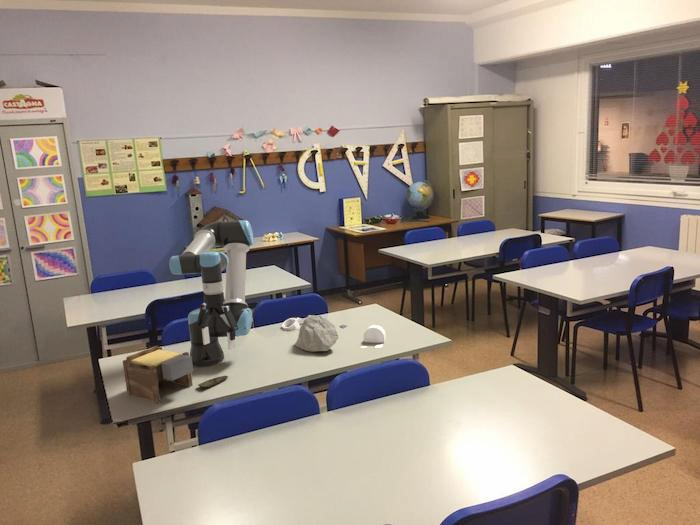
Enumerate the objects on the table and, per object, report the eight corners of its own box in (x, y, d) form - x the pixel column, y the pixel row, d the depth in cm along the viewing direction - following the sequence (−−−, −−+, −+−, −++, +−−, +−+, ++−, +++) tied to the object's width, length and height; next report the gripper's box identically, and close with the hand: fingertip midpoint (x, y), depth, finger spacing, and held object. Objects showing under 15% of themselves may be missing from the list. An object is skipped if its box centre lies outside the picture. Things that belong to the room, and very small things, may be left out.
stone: (204, 391, 218) (203, 385, 218) (196, 389, 221) (195, 383, 221) (230, 379, 228) (229, 374, 228) (222, 377, 232) (221, 372, 231)
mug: (296, 344, 285) (288, 329, 281) (286, 341, 291) (278, 326, 287) (312, 329, 292) (305, 314, 287) (302, 326, 298) (294, 312, 294)
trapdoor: (160, 362, 229) (158, 347, 228) (196, 370, 218) (194, 355, 217) (133, 373, 218) (130, 358, 217) (169, 382, 207) (167, 366, 206)
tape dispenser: (389, 342, 269) (388, 320, 267) (381, 356, 252) (379, 332, 250) (370, 342, 272) (368, 320, 270) (360, 355, 255) (358, 332, 253)
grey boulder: (344, 349, 256) (342, 317, 253) (326, 359, 246) (323, 325, 243) (306, 342, 269) (304, 311, 267) (287, 350, 259) (284, 319, 256)
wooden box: (163, 379, 234) (159, 344, 231) (192, 386, 224) (188, 350, 222) (127, 395, 220) (122, 358, 217) (156, 403, 210) (151, 365, 208)
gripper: (183, 292, 221) (189, 344, 225) (230, 297, 208) (235, 352, 212) (198, 288, 228) (203, 339, 231) (244, 292, 214) (249, 346, 218)
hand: (219, 345), depth 221 cm, fingers open, 13 cm apart
